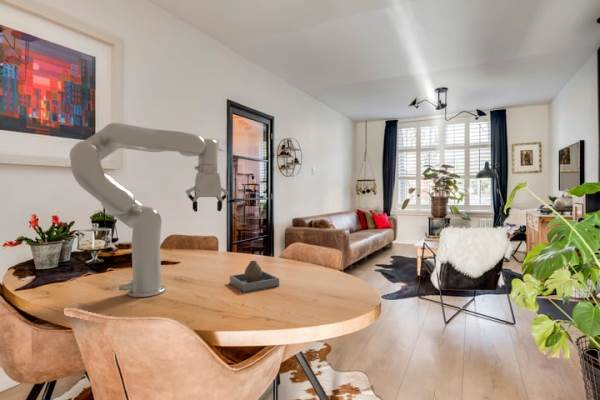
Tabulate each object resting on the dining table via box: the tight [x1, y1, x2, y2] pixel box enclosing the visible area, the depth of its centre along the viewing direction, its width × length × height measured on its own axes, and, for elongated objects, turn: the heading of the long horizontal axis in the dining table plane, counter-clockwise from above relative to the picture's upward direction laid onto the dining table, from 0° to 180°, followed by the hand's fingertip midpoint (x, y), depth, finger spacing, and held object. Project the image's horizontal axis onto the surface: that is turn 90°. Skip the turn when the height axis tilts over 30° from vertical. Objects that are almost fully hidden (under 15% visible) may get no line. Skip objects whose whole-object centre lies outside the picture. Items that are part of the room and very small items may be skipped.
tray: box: [229, 270, 280, 293], centre depth 132 cm, size 15×15×3 cm
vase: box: [244, 260, 263, 283], centre depth 131 cm, size 7×7×9 cm
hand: (207, 211), depth 137 cm, fingers open, 9 cm apart
